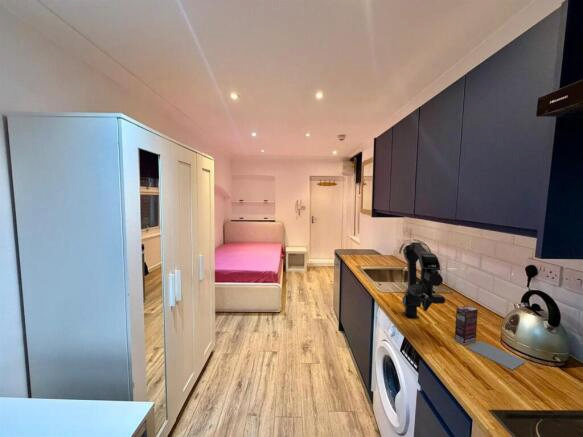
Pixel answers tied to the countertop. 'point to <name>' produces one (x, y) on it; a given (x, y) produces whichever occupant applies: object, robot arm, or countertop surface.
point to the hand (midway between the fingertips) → (425, 310)
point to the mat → (496, 355)
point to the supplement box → (466, 324)
